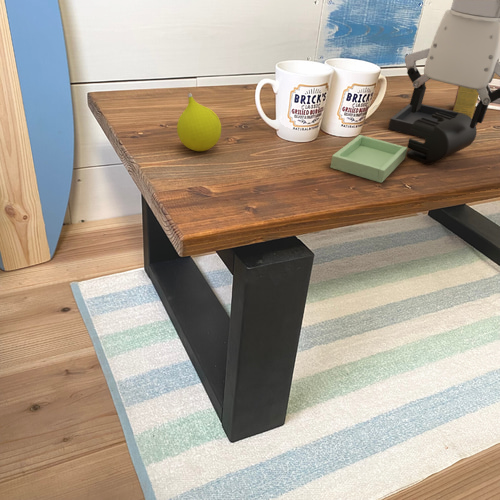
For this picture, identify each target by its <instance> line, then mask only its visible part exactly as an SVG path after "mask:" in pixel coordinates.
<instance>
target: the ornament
mask: <svg viewBox="0 0 500 500" xmlns="http://www.w3.org/2000/svg"><path fill="white" fill-rule="evenodd" d="M187 97H188V103H187V106H186V108H185V109H184V110H183V112H182V113H181V114H180V116H179V118H178V120H177V123H176V124H177V126H176V134H177V137H178V139H179V140H180V142H181V143H182V144H183V146H184V147H186V148H187V149H189V150H192V151H195V152H206V151H208V150H210V149H212V148H214V146H216V145H217V143H218V142H219V140H220V138H221V135H222V123H221V121H220V118H219V116H218V115H217V113H216V112H215V111H214V110H212V109H211V108H209V107H207V106H204V105H202V104H201V103H198V102H197V101H196V100H195V98H194V97H193V94H192V92H189V93H187Z"/></svg>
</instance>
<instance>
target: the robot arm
mask: <svg viewBox="0 0 500 500" xmlns="http://www.w3.org/2000/svg"><path fill="white" fill-rule="evenodd" d="M424 59H426V60H425V63H424V67H423V74H422V75H421V73H420V71H419V69H418V68H417V61H420V60H424ZM404 62H405V68H406V74H407V76H408V77H409V80H410V81H411V83H412V87H413V92H412V95H411V98H410V102H409V103H410V105H412V110H411V112H412V113H416V112H417V111H418V110H419V109H420V108H421V104H423V101H424V97H425V93H426V90H427V85H426V82H428V81H429V80H432V81H436V82H440V83H443V84H448V85H453V86H457V87H459V86H461V87H465V88H470V89H475V90H477V92H478V94H479V96H478V97H479V99H480V100H479V101H478V102H477V103H476V106H475V109H474V113H473V116H472V121H471V124H470V127H471V128H473V129H474V128H475V126H476V127H477V125H478V124H482V123H483V121H484V119H485V116H486V113H487V111H488V108H489V105H490V104H491V103H493V102H496V100H497V101H498V99H500V87H499V88H497V89H495V90H492V88H491V86H490V84H491V83H492V81H493V79H494V76H495V75H496V76H498V77H499V78H500V0H452V3H451V7H450V9H447V10H446V11H445V12H444V14H443V15H442V18H441V19H440V23H439V25H438V27H437V29H436V31H435V35H434V37H433V40H432V42H431V44H430V47H429V48H426V49H422V50H418V51H415V52H411V53H409V54H406V55H405V57H404Z"/></svg>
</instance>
